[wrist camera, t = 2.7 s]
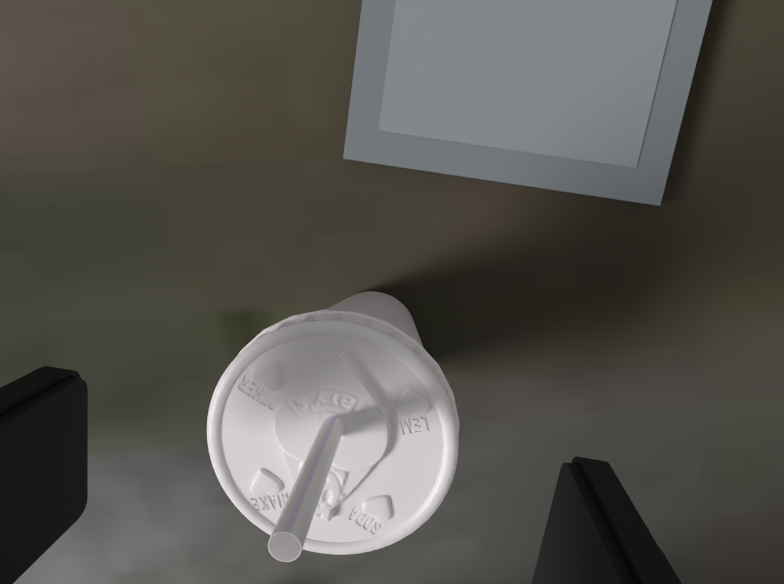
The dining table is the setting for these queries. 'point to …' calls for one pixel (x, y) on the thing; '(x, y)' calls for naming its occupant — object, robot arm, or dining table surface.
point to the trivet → (527, 90)
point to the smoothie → (335, 429)
